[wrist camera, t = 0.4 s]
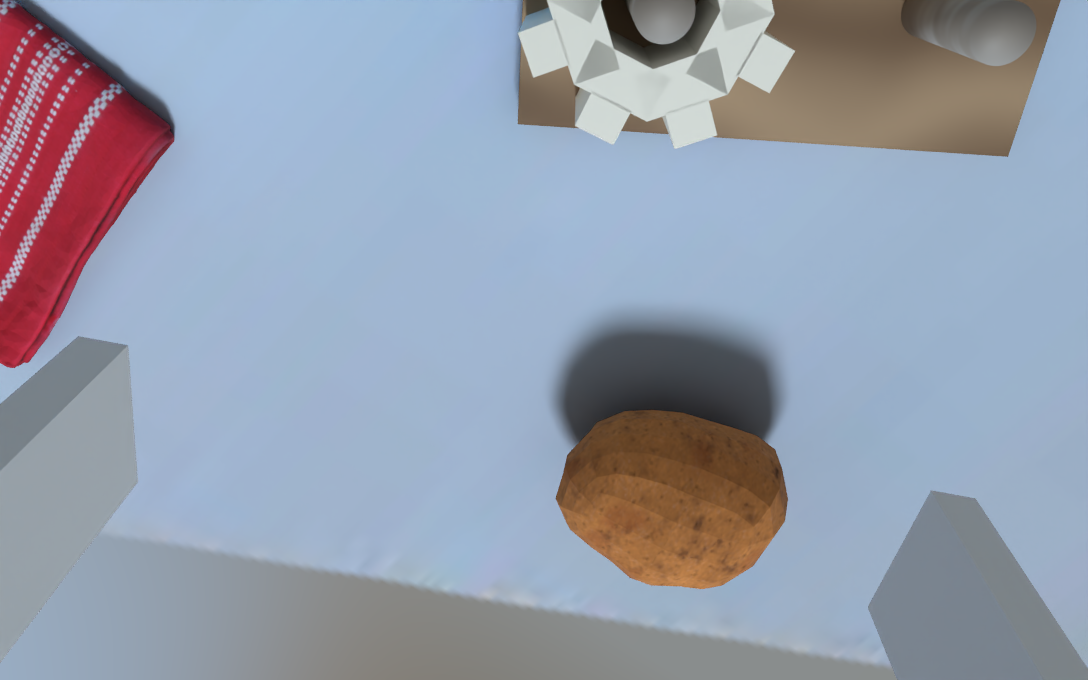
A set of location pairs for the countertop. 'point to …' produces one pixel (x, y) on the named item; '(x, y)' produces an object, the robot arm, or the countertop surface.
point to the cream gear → (655, 64)
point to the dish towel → (59, 172)
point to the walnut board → (850, 72)
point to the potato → (673, 497)
